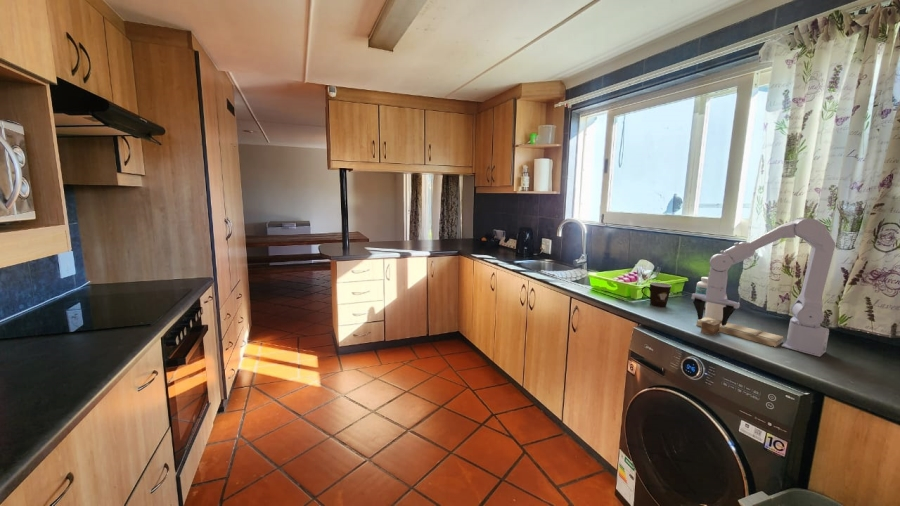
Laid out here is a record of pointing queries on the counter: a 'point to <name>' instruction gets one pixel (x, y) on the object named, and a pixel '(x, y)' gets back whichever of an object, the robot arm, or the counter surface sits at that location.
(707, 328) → the brown wooden cube
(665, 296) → the coffee mug
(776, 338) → the maple board
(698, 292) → the pill bottle
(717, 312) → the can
